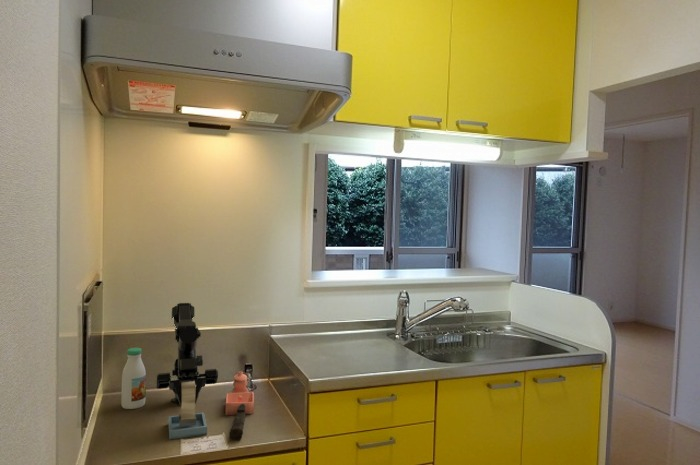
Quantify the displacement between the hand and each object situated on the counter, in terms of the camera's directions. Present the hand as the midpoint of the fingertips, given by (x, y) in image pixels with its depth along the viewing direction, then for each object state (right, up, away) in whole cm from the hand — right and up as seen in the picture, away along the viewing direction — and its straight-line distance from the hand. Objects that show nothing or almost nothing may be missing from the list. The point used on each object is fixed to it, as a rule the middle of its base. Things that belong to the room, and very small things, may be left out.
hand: (188, 404), depth 151 cm
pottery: (+11, -8, +23) cm, 27 cm away
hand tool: (+14, -9, +5) cm, 18 cm away
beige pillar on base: (-1, -6, +2) cm, 7 cm away
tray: (-1, -9, +2) cm, 9 cm away
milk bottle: (-25, -7, +18) cm, 32 cm away
